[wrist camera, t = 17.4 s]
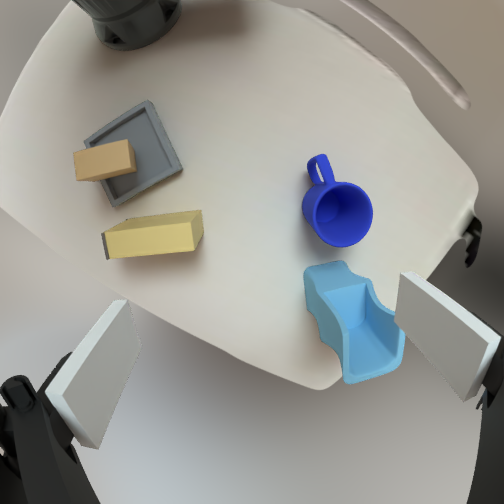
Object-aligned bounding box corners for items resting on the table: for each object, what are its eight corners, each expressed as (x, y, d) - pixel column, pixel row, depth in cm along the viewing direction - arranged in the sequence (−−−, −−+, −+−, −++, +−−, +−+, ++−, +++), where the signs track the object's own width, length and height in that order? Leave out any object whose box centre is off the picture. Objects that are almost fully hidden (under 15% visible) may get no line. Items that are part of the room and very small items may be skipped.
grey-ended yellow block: (129, 240, 43) (103, 259, 34) (126, 219, 42) (98, 233, 33) (203, 232, 44) (194, 251, 34) (201, 209, 43) (190, 222, 33)
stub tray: (90, 142, 38) (83, 141, 36) (152, 103, 37) (147, 99, 35) (119, 205, 42) (112, 207, 39) (183, 169, 41) (179, 169, 38)
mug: (327, 148, 41) (352, 144, 31) (352, 219, 44) (380, 233, 35) (278, 166, 41) (291, 166, 32) (306, 238, 45) (324, 257, 35)
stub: (94, 181, 37) (76, 180, 28) (91, 159, 36) (73, 152, 27) (137, 171, 39) (130, 167, 30) (134, 149, 38) (127, 139, 29)
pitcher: (347, 258, 46) (407, 315, 27) (349, 300, 48) (401, 368, 29) (302, 268, 46) (342, 334, 27) (307, 309, 48) (342, 387, 29)
